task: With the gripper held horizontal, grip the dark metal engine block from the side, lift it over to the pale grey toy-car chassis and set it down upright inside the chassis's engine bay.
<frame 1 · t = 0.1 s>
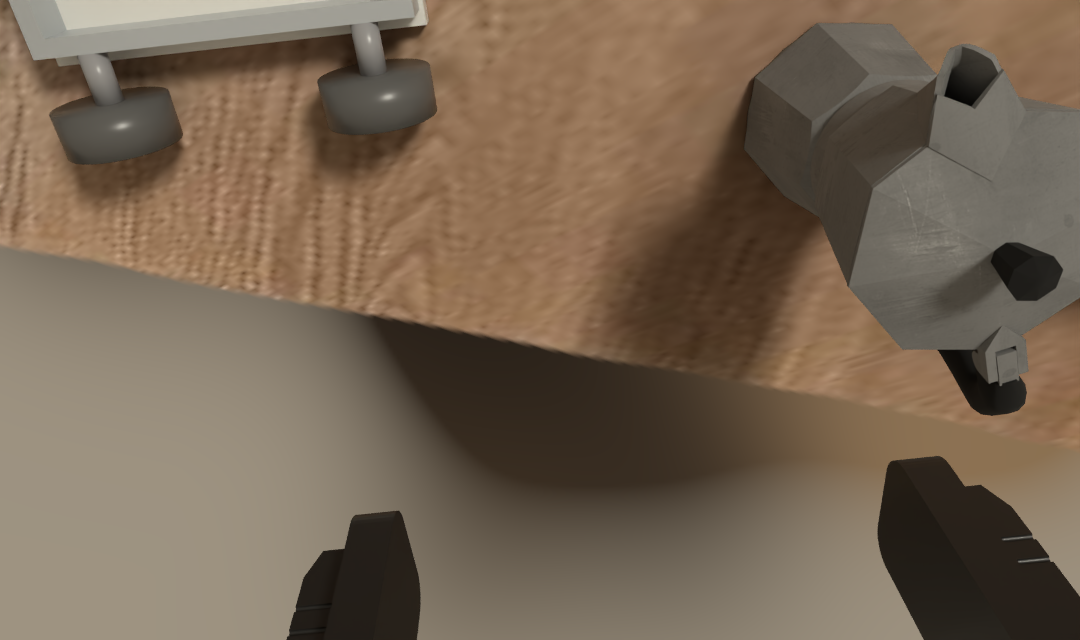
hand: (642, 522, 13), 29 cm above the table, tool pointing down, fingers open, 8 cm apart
coffeepot: (835, 131, 40), on the table
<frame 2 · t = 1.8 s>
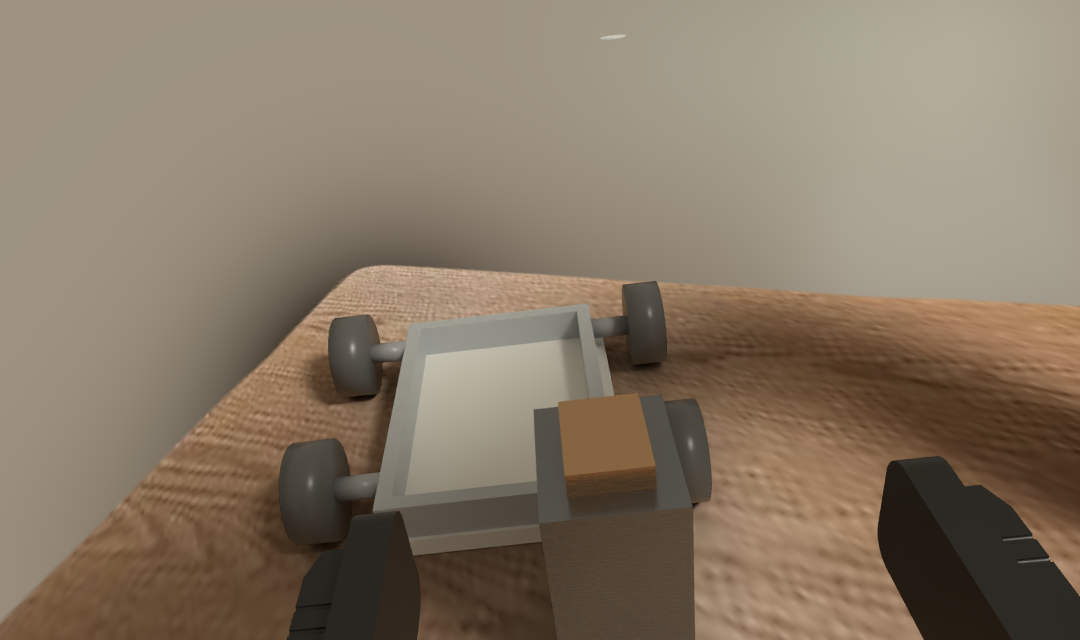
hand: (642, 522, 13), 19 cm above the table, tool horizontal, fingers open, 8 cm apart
chassis: (504, 432, 45), on the table
engine block: (622, 633, 33), on the table
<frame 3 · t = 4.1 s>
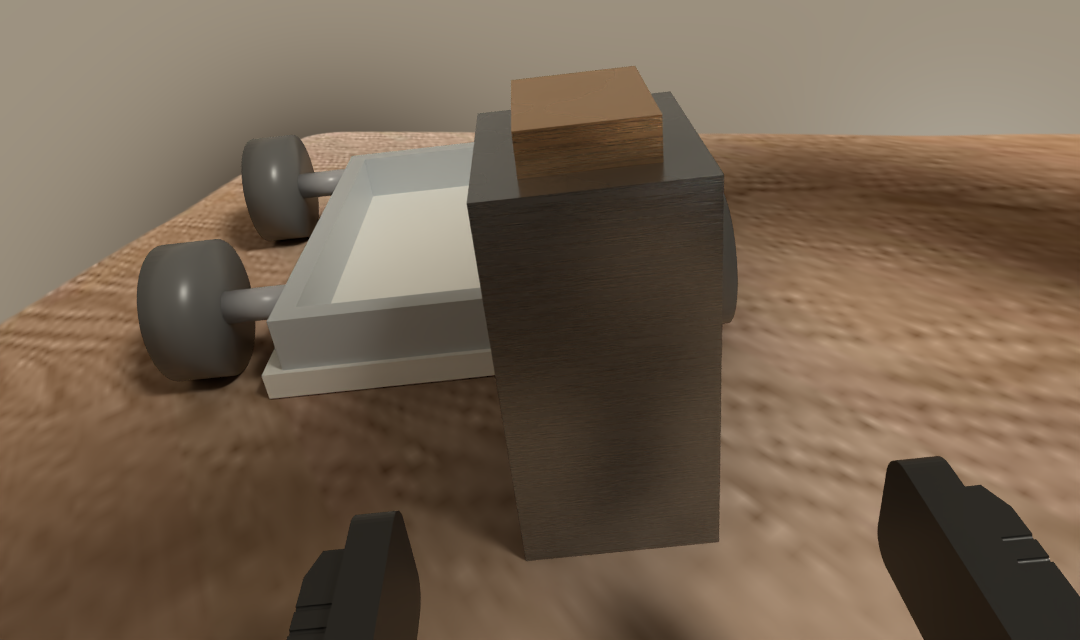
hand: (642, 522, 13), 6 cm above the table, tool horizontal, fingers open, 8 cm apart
chassis: (463, 268, 35), on the table
engine block: (609, 472, 23), on the table
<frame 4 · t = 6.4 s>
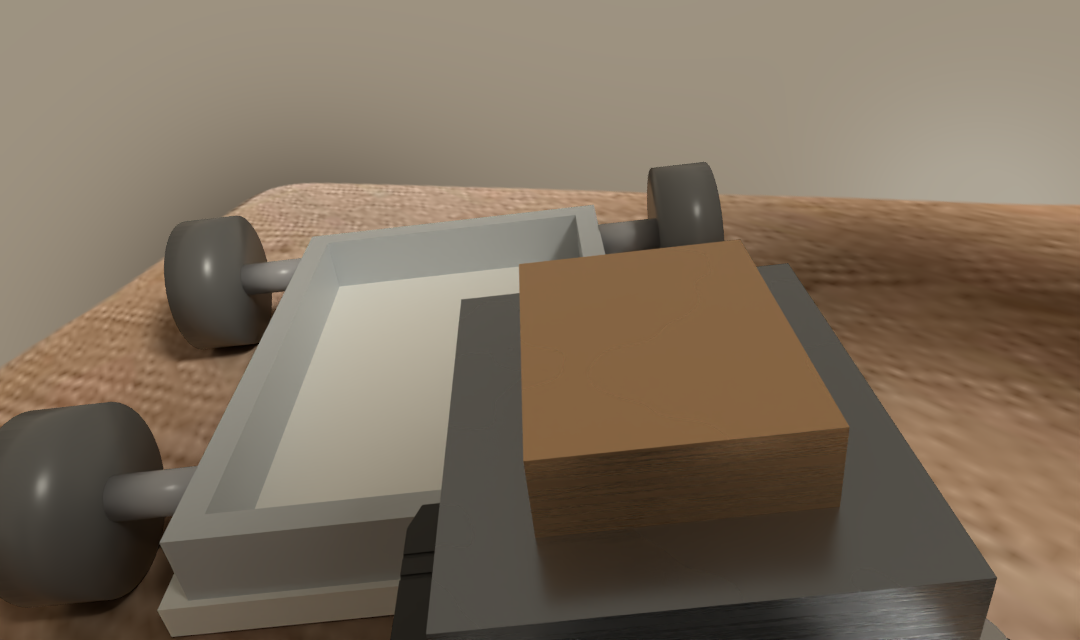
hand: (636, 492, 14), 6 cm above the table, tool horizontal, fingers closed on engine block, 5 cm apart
chassis: (451, 402, 27), on the table
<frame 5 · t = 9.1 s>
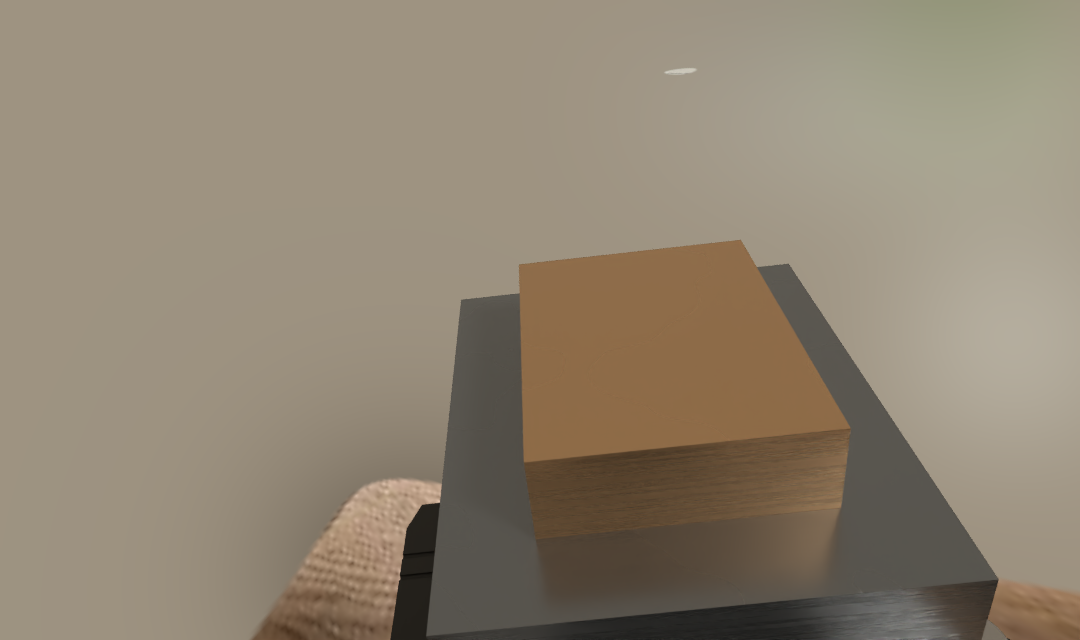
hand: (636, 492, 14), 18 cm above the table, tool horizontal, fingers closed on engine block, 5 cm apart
when the fingers open (8 cm above the table, at t = 11.7 s): engine block drops 1 cm, resting on chassis.
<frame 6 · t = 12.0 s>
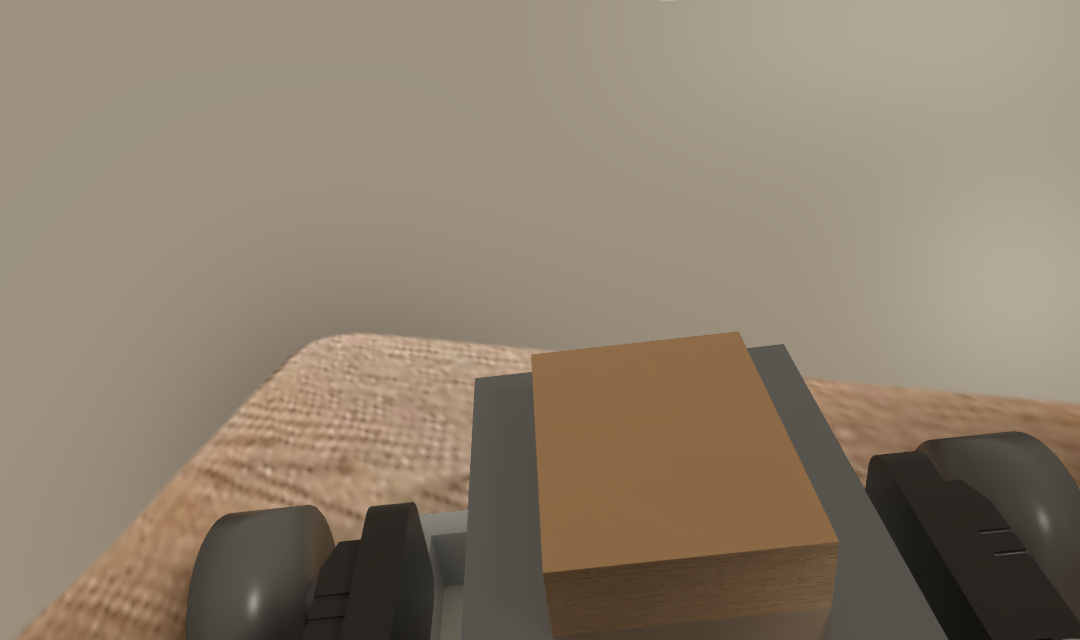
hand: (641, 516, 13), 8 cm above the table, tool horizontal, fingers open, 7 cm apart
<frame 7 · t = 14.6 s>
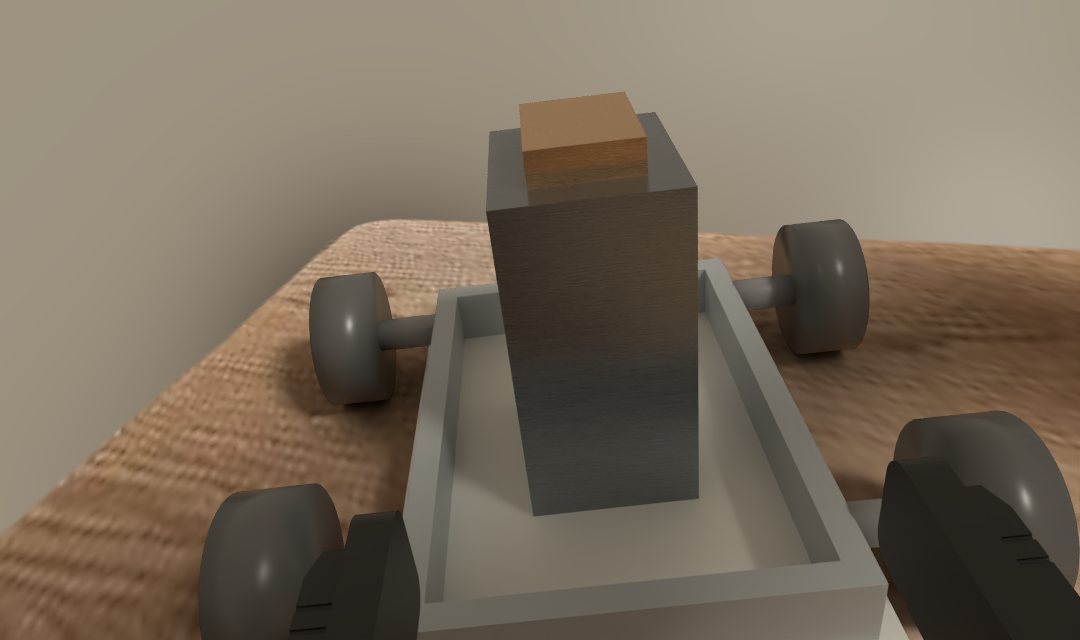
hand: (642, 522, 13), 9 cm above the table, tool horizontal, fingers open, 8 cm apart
chassis: (605, 465, 27), on the table
engine block: (604, 442, 26), point 1 cm above the table, touching chassis
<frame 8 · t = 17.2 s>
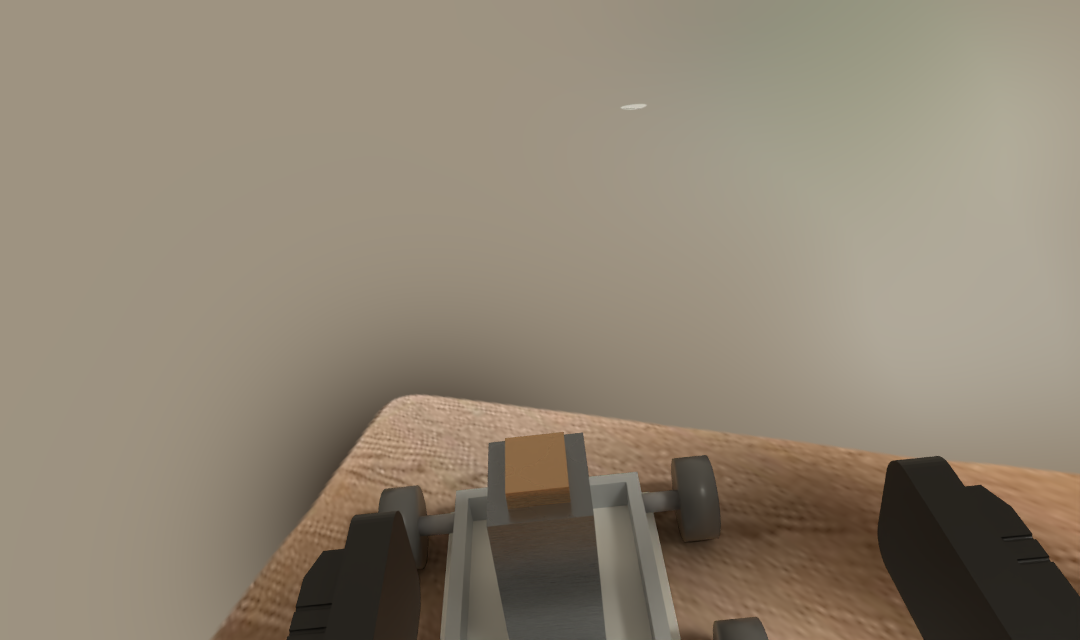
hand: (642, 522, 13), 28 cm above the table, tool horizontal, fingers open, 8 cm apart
chassis: (558, 621, 45), on the table
engine block: (557, 610, 44), point 1 cm above the table, touching chassis
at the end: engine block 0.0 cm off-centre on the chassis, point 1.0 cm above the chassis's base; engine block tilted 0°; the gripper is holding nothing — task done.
